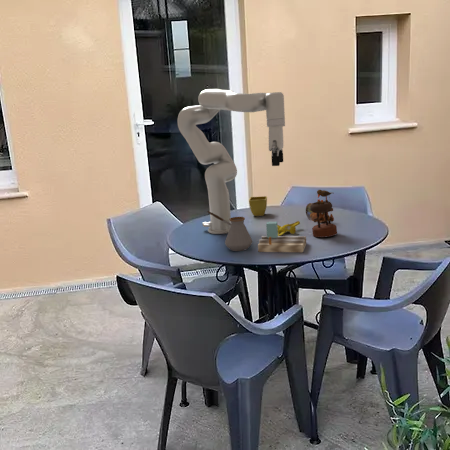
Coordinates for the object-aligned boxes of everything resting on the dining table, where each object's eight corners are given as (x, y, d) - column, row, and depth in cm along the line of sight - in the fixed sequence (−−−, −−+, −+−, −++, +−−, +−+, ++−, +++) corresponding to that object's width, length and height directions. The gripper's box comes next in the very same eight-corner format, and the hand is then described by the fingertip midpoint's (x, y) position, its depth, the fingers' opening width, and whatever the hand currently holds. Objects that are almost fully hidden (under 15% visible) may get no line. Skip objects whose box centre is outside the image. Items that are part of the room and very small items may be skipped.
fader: (267, 240, 216) (266, 223, 214) (268, 238, 219) (267, 221, 217) (276, 240, 215) (276, 223, 213) (278, 238, 218) (277, 221, 216)
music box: (322, 229, 238) (321, 186, 233) (343, 232, 231) (343, 188, 226) (302, 237, 228) (301, 192, 223) (324, 241, 220) (323, 194, 215)
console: (258, 251, 214) (257, 237, 212) (263, 243, 225) (263, 229, 223) (302, 252, 209) (302, 237, 207) (306, 243, 220) (305, 229, 218)
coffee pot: (258, 246, 221) (256, 211, 217) (243, 254, 212) (240, 218, 208) (217, 240, 233) (214, 207, 230) (201, 248, 225) (198, 213, 221)
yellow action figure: (277, 216, 249) (304, 219, 239) (278, 224, 251) (305, 227, 241) (252, 232, 236) (279, 235, 226) (254, 240, 238) (281, 244, 228)
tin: (305, 218, 260) (304, 201, 258) (310, 217, 261) (310, 200, 259) (324, 224, 247) (323, 206, 245) (329, 223, 248) (329, 205, 246)
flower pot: (251, 213, 278) (250, 196, 276) (268, 212, 277) (267, 195, 275) (249, 217, 270) (248, 200, 268) (266, 216, 269) (266, 199, 266)
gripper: (270, 121, 228) (272, 161, 232) (262, 125, 212) (265, 167, 216) (287, 120, 226) (289, 160, 230) (281, 124, 210) (283, 167, 214)
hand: (277, 163), depth 223 cm, fingers open, 9 cm apart
